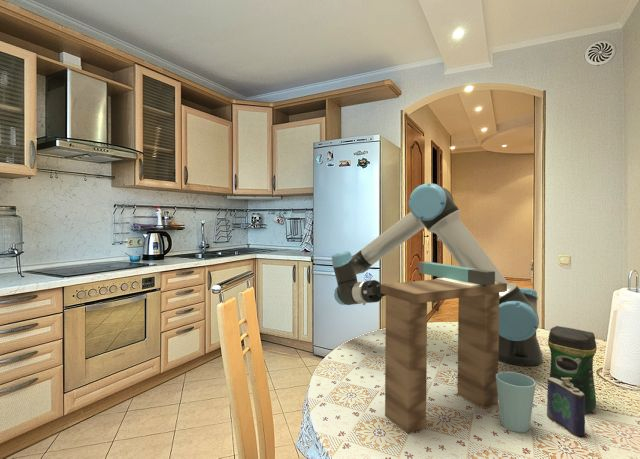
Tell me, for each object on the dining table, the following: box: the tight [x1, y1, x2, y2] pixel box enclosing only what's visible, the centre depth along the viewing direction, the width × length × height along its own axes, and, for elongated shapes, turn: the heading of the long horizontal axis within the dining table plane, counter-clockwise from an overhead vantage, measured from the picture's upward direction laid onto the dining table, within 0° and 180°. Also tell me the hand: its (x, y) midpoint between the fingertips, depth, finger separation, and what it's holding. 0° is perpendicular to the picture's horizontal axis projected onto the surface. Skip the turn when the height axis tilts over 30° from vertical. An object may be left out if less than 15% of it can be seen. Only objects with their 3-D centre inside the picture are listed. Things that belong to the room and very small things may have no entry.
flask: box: [546, 376, 586, 439], centre depth 80 cm, size 9×3×11 cm, turn 8°
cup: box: [496, 371, 537, 434], centre depth 80 cm, size 8×8×10 cm
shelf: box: [380, 277, 507, 434], centre depth 86 cm, size 28×12×30 cm, turn 116°
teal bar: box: [418, 261, 495, 286], centre depth 92 cm, size 3×22×3 cm, turn 27°
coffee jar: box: [547, 325, 598, 413], centre depth 89 cm, size 10×8×19 cm
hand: (415, 285), depth 110 cm, fingers open, 13 cm apart
